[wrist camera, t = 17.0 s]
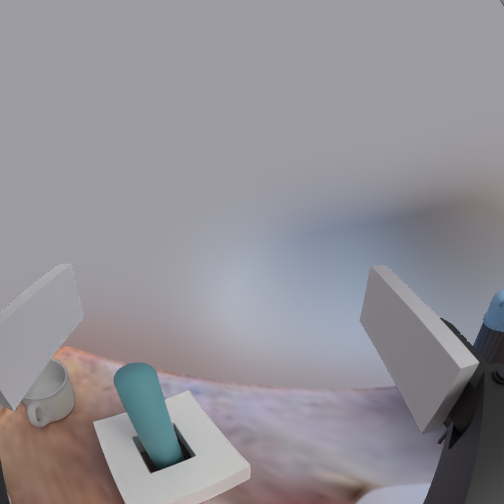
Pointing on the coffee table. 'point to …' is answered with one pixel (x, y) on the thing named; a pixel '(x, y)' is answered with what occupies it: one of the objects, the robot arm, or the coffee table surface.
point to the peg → (148, 413)
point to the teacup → (50, 395)
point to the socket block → (179, 475)
